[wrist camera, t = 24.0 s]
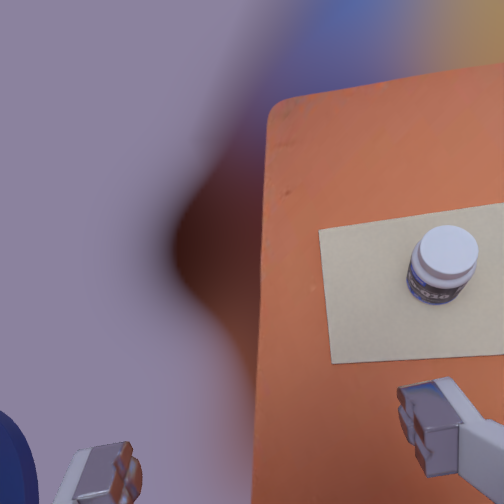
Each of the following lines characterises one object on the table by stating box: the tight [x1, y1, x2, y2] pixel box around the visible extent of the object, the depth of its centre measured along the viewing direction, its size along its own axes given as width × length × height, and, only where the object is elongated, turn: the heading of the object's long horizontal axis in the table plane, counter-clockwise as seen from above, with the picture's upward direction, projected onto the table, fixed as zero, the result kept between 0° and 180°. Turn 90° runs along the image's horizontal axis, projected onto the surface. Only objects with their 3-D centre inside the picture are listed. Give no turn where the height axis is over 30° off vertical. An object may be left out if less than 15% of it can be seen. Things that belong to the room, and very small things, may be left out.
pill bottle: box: [406, 225, 479, 305], centre depth 32 cm, size 5×5×8 cm
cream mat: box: [318, 203, 504, 364], centre depth 36 cm, size 20×14×1 cm
